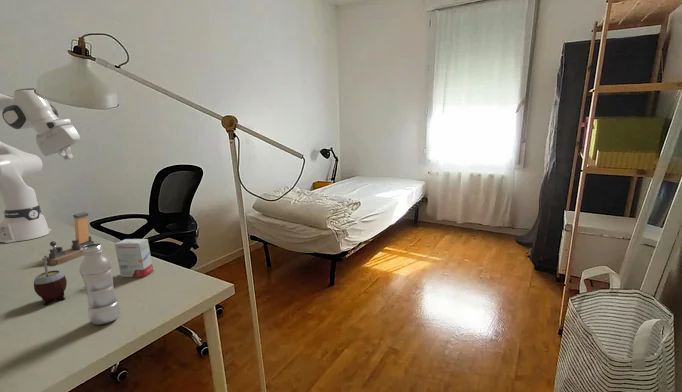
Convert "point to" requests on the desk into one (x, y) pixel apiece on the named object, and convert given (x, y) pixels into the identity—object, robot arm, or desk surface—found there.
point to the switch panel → (67, 252)
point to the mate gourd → (50, 285)
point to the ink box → (134, 257)
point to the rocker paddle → (81, 227)
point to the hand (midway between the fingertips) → (69, 158)
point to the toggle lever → (53, 245)
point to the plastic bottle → (99, 285)
